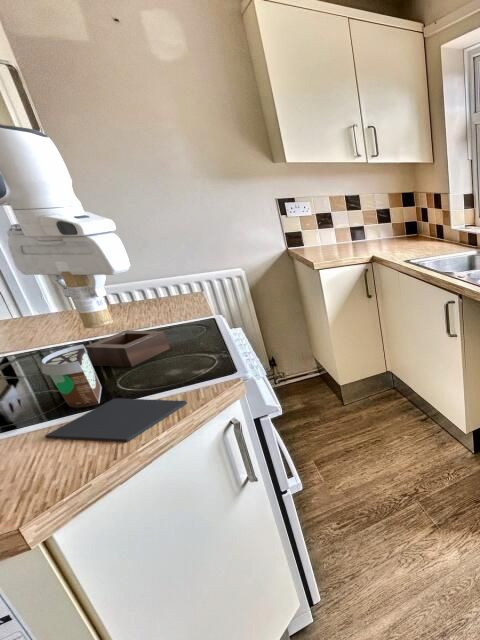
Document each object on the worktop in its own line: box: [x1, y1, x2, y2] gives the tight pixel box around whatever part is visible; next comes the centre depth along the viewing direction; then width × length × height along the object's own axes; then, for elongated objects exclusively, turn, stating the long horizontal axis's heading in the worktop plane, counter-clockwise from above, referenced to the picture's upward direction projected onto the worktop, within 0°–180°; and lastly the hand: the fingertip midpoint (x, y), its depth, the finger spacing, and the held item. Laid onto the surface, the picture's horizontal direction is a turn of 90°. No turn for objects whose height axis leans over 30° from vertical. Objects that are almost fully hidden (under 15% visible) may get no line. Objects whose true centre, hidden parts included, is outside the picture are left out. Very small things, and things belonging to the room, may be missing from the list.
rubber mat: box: [44, 398, 188, 443], centre depth 80 cm, size 16×13×1 cm
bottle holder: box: [84, 330, 171, 368], centre depth 106 cm, size 11×11×5 cm
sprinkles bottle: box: [55, 262, 114, 329], centre depth 82 cm, size 5×5×14 cm
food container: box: [40, 343, 103, 408], centre depth 85 cm, size 12×6×10 cm, turn 40°
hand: (86, 296), depth 82 cm, fingers closed on sprinkles bottle, 4 cm apart
